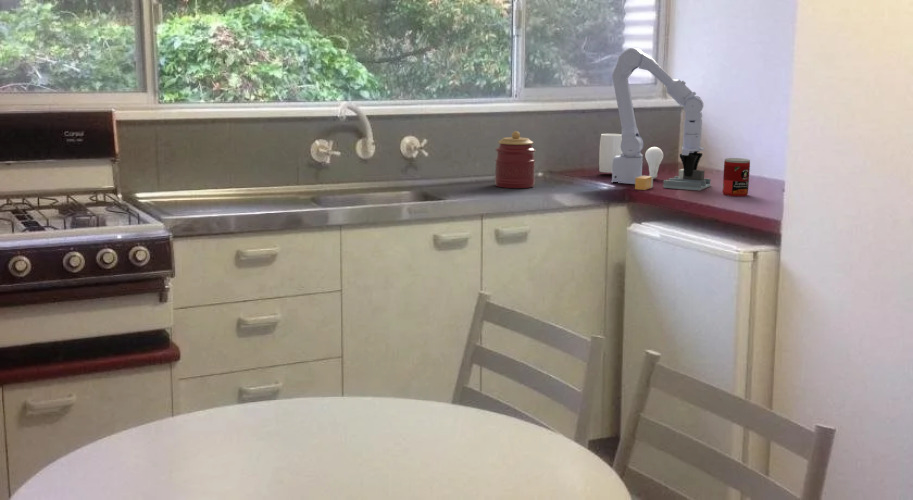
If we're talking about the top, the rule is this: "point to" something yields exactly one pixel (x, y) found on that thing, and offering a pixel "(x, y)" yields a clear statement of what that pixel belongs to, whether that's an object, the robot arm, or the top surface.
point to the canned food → (736, 176)
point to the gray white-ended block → (695, 175)
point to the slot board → (686, 183)
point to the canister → (515, 162)
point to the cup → (609, 151)
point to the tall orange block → (644, 182)
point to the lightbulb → (654, 160)
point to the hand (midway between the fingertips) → (689, 175)
